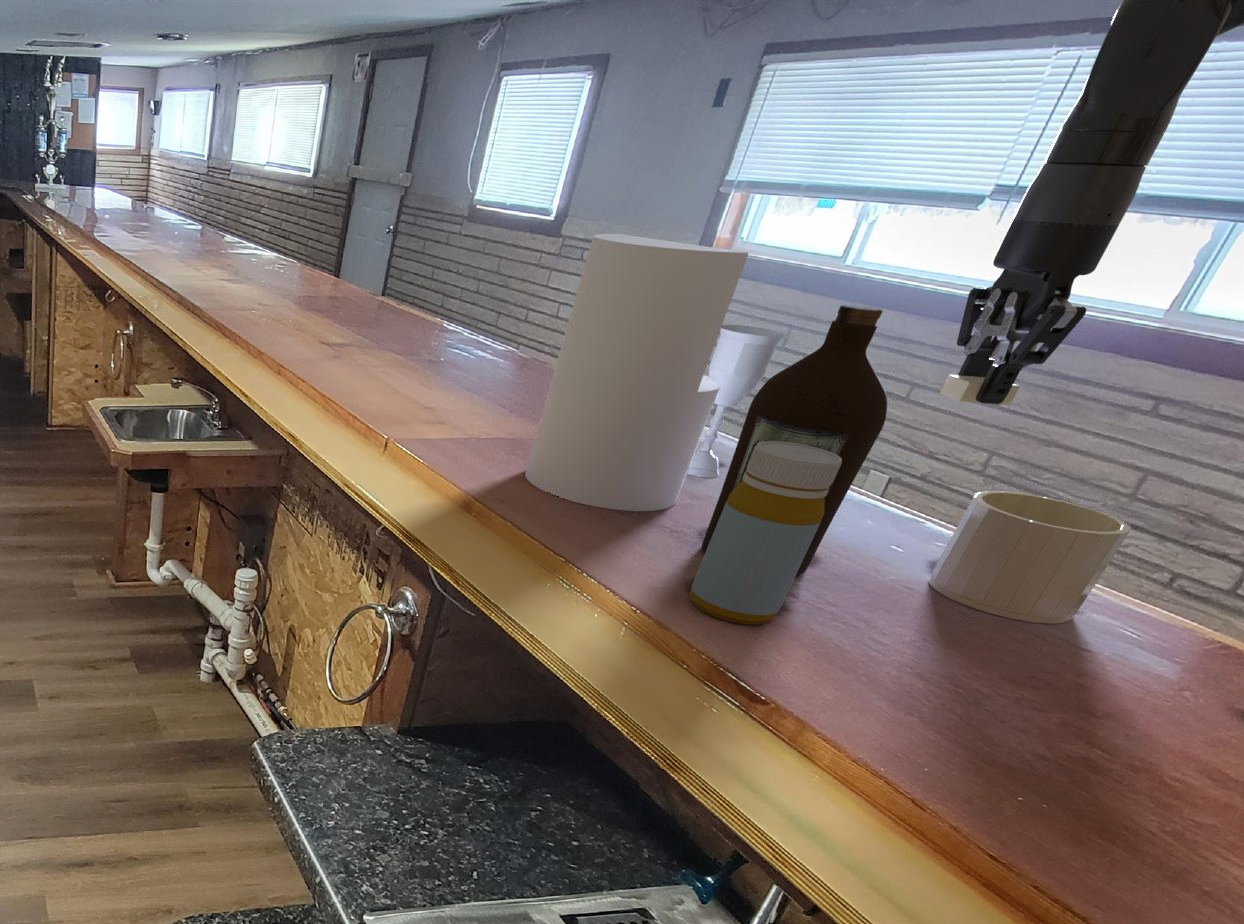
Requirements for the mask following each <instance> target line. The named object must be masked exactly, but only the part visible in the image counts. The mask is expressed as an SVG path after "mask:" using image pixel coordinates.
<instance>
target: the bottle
mask: <svg viewBox="0 0 1244 924" xmlns="http://www.w3.org/2000/svg"><path fill="white" fill-rule="evenodd" d="M841 461H842V458H841V457H839V456H838V455H836V454H834V453H832V452H829V451H826V450H823V449H819V448H816V447H812V446H807V445H802V444H796V443H789V442H779V441H765V442H760V443H758V444H757V445H756V446H755V448H754V450H753V453H752V455H751V457H750V460H749V462H748V465H747V470H746V471H745V473H744V475H743V480H742V481H741V482H740V483H739V485H738V486H737V487H736V488H735V489H734V490H733V491H732V492H731V493H730V495H729V497H728V500H727V501H726V504H725V506H724V508H723V511H722V513H721V516H720V518H719V521H718V523H717V526H716V528H715V531H714V533H713V535H712V538H711V540H710V543H709V545H708V548H707V550H706V553H704V555H703V558H702V560H701V562H700V565H699V568H698V570H697V571H696V575H695V577H694V580H693V582H692V585H691V589H690V590H689V593H688V594H689V597H690V600H691V601H692V604H693V605H694V606H695V607H696V608H697V609H698V610H699V611H701V612H703V613H704V614H706V615H709V616H711V617H714V618H716V619H719V620H722V621H725V622H728V623H735V624H737V625H749V626H755V625H762V624H765V623H767V622H770V621H772V620H774V619H775V618H776V617H777V616H778V614H779V611H780V610H781V608H782V606H783V604H784V601H785V600H786V597H787V595H788V593H789V592H790V589H791V586H792V585H793V582H794V580H795V578H796V577H797V576H796V574H797V572H798V569H799V567H800V565H801V563H802V561H803V559H804V557H805V555H806V552H807V550H808V548H809V546H810V544H811V542H812V540H813V538H814V535H815V533H816V531H817V529H818V527H819V525H820V523H821V520H822V517H823V515H824V504H825V496H826V495H827V493H828V491H829V487H830V485H831V484H832V483H833V481H834V479H835V477H836V474H837V472H838V470H839V468H840V466H841V464H842V462H841Z"/></svg>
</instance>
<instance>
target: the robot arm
mask: <svg viewBox="0 0 1244 924" xmlns="http://www.w3.org/2000/svg"><path fill="white" fill-rule="evenodd" d="M1112 18H1113V19H1112V21H1111V22H1110V25H1109V28H1108V30H1107V32H1106V34H1105V36H1104V38H1103V41H1102V44H1101V45H1100V48H1099V50H1098V53H1097V55H1096V57H1095V59H1094V62H1093V64H1092V67H1091V70H1090V72H1089V74H1088V76H1087V80H1086V81H1085V84H1084V87H1083V89H1082V91H1081V93H1080V96H1079V97H1078V99H1077V100H1076V102H1075V104H1074V105H1073V107H1072V108H1071V110H1070V112H1069V113H1068V115H1067V117H1066V118H1065V120H1064V122H1063V124H1062V125H1061V127H1060V129H1059V131H1058V133H1057V136H1056V137H1055V139H1054V141H1053V144H1052V145H1051V148H1050V150H1049V151H1048V154H1047V156H1046V158H1045V160H1044V163H1043V164H1042V166H1041V167H1040V169H1039V171H1038V172H1037V175H1035V177H1034V178H1033V181H1032V182H1031V183H1030V185H1029V187H1027V190H1026V193H1025V194H1024V195H1023V198H1022V200H1021V202H1020V204H1019V206H1018V208H1017V210H1016V212H1015V214H1014V217H1013V218H1012V220H1011V223H1010V225H1009V227H1008V229H1007V230H1006V233H1005V235H1004V237H1003V239H1002V241H1001V243H1000V245H999V247H998V250H997V252H996V254H995V256H994V258H993V260H992V265H993V266H994V267H995V268H997V269H1001V270H1002V272H1001V274H1000V275H999V276H998V278H997V279H996V280H995V281H994V282H993V284H992V286H989V287H973V288H972V289H971V290H970V291H969V293H968V295H967V300H966V304H965V307H964V311H963V316H962V320H961V324H960V326H959V327H960V328H959V332H958V336H957V340H956V345H957V346H958V347H963V348H964V349H963V354H964V356H966V357H965V359H964V361H963V363H962V365H961V367H960V369H959V371H958V373H957V375H960V376H974V377H985V379H984V381H983V384H982V386H981V388H980V390H979V392H978V394H977V396H976V401H978V402H981V403H980V404H989V405H1000V403H1002V402H1003V401H1004V399H1005V398H1006V396H1007V395H1008V393H1009V391H1010V389H1011V387H1012V385H1013V384H1015V382H1016V380H1017V378H1018V376H1019V374H1020V373H1021V371H1022V370H1023V369H1024V368H1027V367H1028V366H1032V365H1043V364H1044V363H1045V362H1046V361H1047V360H1048V359H1049V357H1050V356H1052V354H1053V353H1054V352H1055V351H1056V349H1057V348H1058V347H1059V346H1060V345H1061V343H1062V342H1063V341H1064V340H1065V339H1066V338H1067V337H1068V336H1069V334H1070V333H1071V332H1072V331H1073V330H1074V328H1075V327H1077V325H1078V324H1079V323H1080V321H1081V320H1082V319H1083V318H1084V317H1085V315H1086V314H1087V307H1086V306H1081V305H1079V306H1076V305H1072V303H1071V302H1070V301H1069V298H1070V297H1071V293H1072V287H1073V284H1074V281H1075V280H1076V278H1078V277H1079V276H1087V275H1090V274H1092V273H1093V272H1094V271H1096V269H1097V267H1098V266H1099V263H1100V262H1101V259H1102V258H1103V256H1104V254H1105V252H1106V251H1107V249H1108V247H1109V244H1110V243H1111V241H1112V239H1113V238H1114V235H1115V234H1116V232H1117V230H1118V229H1119V226H1120V224H1121V222H1122V220H1123V219H1124V217H1125V215H1126V213H1127V211H1128V209H1129V208H1130V207H1131V206H1130V205H1131V204H1132V202H1133V200H1134V199H1135V196H1136V195H1137V191H1138V189H1139V187H1140V183H1141V181H1142V178H1143V175H1144V173H1145V171H1146V169H1147V167H1146V166H1148V165H1149V163H1150V161H1151V159H1152V157H1153V155H1154V154H1155V153H1156V150H1157V148H1158V147H1159V145H1160V143H1161V141H1162V139H1163V137H1164V135H1165V133H1166V131H1167V129H1168V127H1169V125H1170V123H1171V121H1172V118H1173V116H1174V114H1175V111H1176V109H1177V106H1178V103H1179V100H1180V98H1181V96H1182V94H1183V92H1184V90H1185V89H1186V87H1187V86H1188V84H1189V83H1190V80H1191V79H1192V78H1193V76H1194V74H1195V72H1196V71H1197V70H1198V68H1199V66H1200V64H1201V63H1202V61H1203V59H1204V58H1205V57H1206V55H1207V53H1208V51H1209V49H1210V48H1211V46H1212V44H1213V43H1214V42H1215V40H1216V38H1217V37H1218V36H1220V35H1223V34H1225V33H1227V32H1229V31H1232V30H1234V29H1237V28H1238V27H1240V26H1242V25H1244V0H1122V1H1121V2H1120V4H1119V7H1118V8H1117V10H1116V12H1115V14H1114V16H1113V17H1112ZM973 331H974V333H973ZM1019 331H1025V332H1028V333H1025V332H1019ZM1016 343H1018V345H1017V346H1016V347H1015V344H1016ZM1039 344H1042V345H1040V347H1039V348H1038V350H1036V349H1037V346H1038V345H1039ZM1014 347H1015V348H1014ZM994 357H995V358H994Z"/></svg>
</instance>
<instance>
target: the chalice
mask: <svg viewBox="0 0 1244 924" xmlns="http://www.w3.org/2000/svg"><path fill="white" fill-rule="evenodd" d="M719 334H720V335H719V337H718V338H719V339H718V341H717V344H716V347H715V349H714V352H713V353H712V356H711V357H712V358H711V360H710V362H709V364H708V365H709V367H708V377H710V378H712V379H714V380H716V381H717V382H718V383H719V384H720V388H719V390H718V393H717V396H716V398H715V401H714V404H715V405H716V411H715V413H714V415H713V416H712V417H711V418H710V419H709V422H710V425H709V428H708V430H707V431H706V432H704V433H703V436H704V443H703V444H702V446H701V447H700V448H698V450H696V451H695V454H694V456H693V459H692V461H691V464H690V467H689V469H688V472H687V475H689V476H694V477H698V478H707V479H709V478H710V479H713V478H718V477H720V473H719V468H720V467H719V459H718V457H717V455H715V454H713V451H712V446H713V443H714V442H715V441H716V439H718V438H720V436H719V431H718V430H719V428H720V427H721V426H722V425H723V424H724V423H725V421H724V418H725V417H724V416H725V412H726V411H727V409H728V408H730V407H734V406H737V405H738V404H739V403H740V402H741V401H742V400H743V399H744V398H746V396H747V395H749V393H751V392H752V391H753V390H754V388H755V387H756V386H757V385H758V384H759V383H760V381H761V380H762V379H763V378H764V377H765V375H766V372H767V370H768V367H769V365H770V362H771V360H772V358H773V355H774V353H775V350H776V348H777V345H778V344H779V343H780V342H781V341H782V340H783V339H784V338H785V337H786V333H784V332H781V331H778V330H773V329H769V328H764V327H757V326H749V325H742V324H741V325H740V324H722V327H721V329H720V332H719Z"/></svg>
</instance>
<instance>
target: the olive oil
mask: <svg viewBox="0 0 1244 924" xmlns="http://www.w3.org/2000/svg"><path fill="white" fill-rule="evenodd" d="M882 314H883V309H882V308H878V307H873V306H868V305H858V304H842V305H840V306H839V308H838V311H837V316H836V318H835V319H834V320H832V321H831V324H830V326H829V329H828V331H827V334H826V336H825V339H824V341H823V344H822V345H821V346H820V347H819V348H817V349H816V350H815V351H813V352H812V353H810V354H807V355H806V356H805V357H803V358H801V359H800V360H797V361H795V362H794V363H792V364H791V365H789V366H787V367H786V368H784V369H782V370H780V371H778V372H777V373H776V374H774V375H773V376H771V377H770V378H769V379H768V380H766V382H765V383H764V384H763V385H762V386H761V388H760V389H759V391H758V392H757V393H756V394H755V396H754V397H753V398H752V401H751V402H750V404H749V408H748V410H747V413H746V416H745V418H744V419H745V420H744V423H743V426H742V429H741V431H740V434H739V438H738V441H737V444H736V446H735V450H734V453H733V456H732V459H731V461H730V465H729V468H728V471H727V473H726V476H725V478H724V482H723V484H722V487H721V491H720V493H719V496H718V499H717V501H716V505H715V506H714V507H715V508H714V510H713V513H712V516H711V518H710V521H709V524H708V526H707V530H706V531H705V535H704V537H703V540H702V543H701V549H702V551H703V553H704V554H705V553H706V550H707V548H708V545H709V543H710V540H711V538H712V535H713V533H714V531H715V528H716V526H717V523H718V521H719V518H720V516H721V513H722V511H723V508H724V506H725V504H726V501H727V500H728V497H729V495H730V493H731V492H732V491H733V490H734V489H735V488H736V487H737V486H738V485H739V483H740V482H741V481H742V480H743V475H744V473H745V471H746V470H747V465H748V462H749V460H750V457H751V455H752V453H753V450H754V448H755V446H756V445H757V444H758V443H760V442H765V441H779V442H789V443H796V444H802V445H807V446H812V447H816V448H819V449H823V450H826V451H829V452H832V453H834V454H836V455H838V456H839V457H841V458H842V461H841V462H842V464H841V466H840V468H839V470H838V472H837V474H836V477H835V479H834V481H833V483H832V484H831V485H830V487H829V491H828V493H827V495H826V496H825V504H824V515H823V517H822V520H821V523H820V525H819V527H818V529H817V531H816V533H815V535H814V538H813V540H812V542H811V544H810V546H809V548H808V550H807V552H806V555H805V557H804V559H803V561H802V563H801V565H800V567H799V569H798V572H797V574H796V576H795V577H798V576H800V575H801V576H802V574H805V572H806V571H807V569H808V568H809V566H810V564H811V562H812V560H813V558H814V556H815V555H816V553H817V550H818V548H819V546H820V544H821V543H822V541H823V539H824V537H825V535H826V533H827V531H828V529H829V528H830V525H831V523H832V521H833V520H834V518H835V516H836V514H837V512H838V510H839V508H840V506H841V505H842V503H843V501H844V499H845V498H846V496H847V493H848V492H849V490H850V488H851V486H852V485H853V483H854V481H855V479H856V477H857V475H858V473H859V471H860V469H861V468H862V466H863V465H864V462H865V461H866V460H867V457H868V455H869V454H870V451H871V450H872V448H873V446H874V444H875V442H876V441H877V439H878V437H879V436H880V434H881V432H882V429H883V427H884V426H885V422H886V420H887V419H886V418H887V412H888V403H889V402H888V395H887V393H886V390H885V388H884V386H883V384H882V382H881V380H880V378H879V376H878V375H877V373H876V371H875V368H874V367H873V366H872V364H871V362H870V360H869V358H868V356H867V349H868V347H869V345H870V343H871V341H872V340H873V337H874V336H875V333H876V331H877V329H878V325H876V324H877V323H878V320H879V319H880V318H881V316H882Z"/></svg>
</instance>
